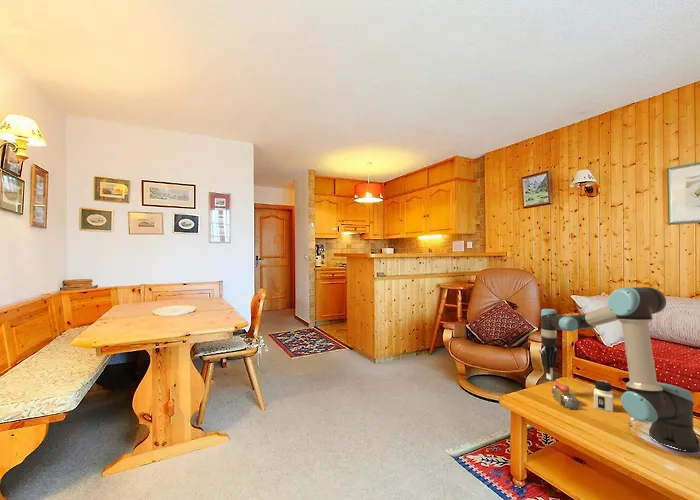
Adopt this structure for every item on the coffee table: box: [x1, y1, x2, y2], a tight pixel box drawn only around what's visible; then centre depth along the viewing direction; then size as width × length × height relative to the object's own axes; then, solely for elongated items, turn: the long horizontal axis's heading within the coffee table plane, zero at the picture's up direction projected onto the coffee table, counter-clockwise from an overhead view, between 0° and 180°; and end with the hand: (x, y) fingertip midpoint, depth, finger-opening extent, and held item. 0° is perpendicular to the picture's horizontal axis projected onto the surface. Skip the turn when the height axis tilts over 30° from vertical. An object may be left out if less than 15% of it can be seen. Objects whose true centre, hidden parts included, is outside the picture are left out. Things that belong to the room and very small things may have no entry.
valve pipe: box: [551, 384, 580, 411], centre depth 175 cm, size 16×7×6 cm, turn 171°
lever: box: [548, 373, 570, 391], centre depth 181 cm, size 16×4×4 cm, turn 178°
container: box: [593, 380, 614, 413], centre depth 170 cm, size 8×8×13 cm
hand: (549, 378), depth 185 cm, fingers closed
